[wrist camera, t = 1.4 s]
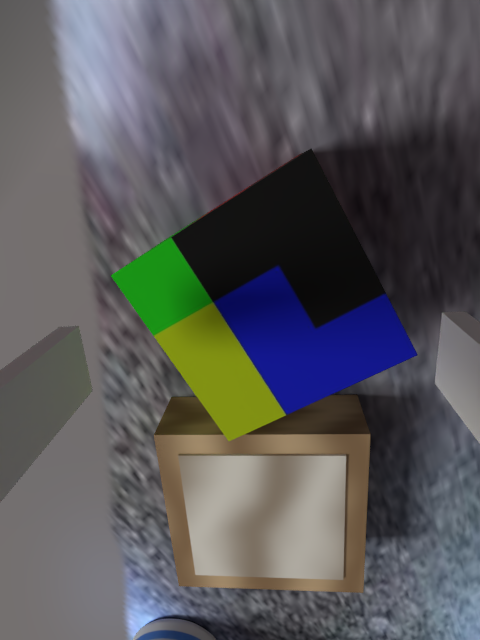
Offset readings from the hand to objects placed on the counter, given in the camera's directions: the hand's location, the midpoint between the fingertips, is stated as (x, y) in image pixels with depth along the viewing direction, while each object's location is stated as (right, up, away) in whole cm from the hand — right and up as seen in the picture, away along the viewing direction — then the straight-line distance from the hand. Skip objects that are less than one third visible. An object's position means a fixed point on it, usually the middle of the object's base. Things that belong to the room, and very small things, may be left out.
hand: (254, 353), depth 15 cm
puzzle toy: (+1, +5, +13) cm, 14 cm away
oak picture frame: (+2, -11, +19) cm, 22 cm away
